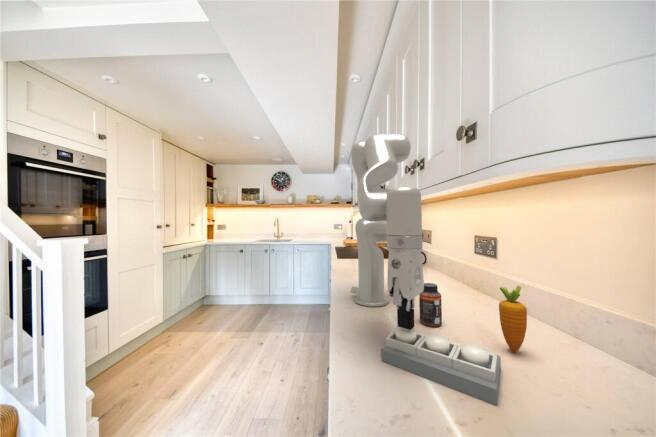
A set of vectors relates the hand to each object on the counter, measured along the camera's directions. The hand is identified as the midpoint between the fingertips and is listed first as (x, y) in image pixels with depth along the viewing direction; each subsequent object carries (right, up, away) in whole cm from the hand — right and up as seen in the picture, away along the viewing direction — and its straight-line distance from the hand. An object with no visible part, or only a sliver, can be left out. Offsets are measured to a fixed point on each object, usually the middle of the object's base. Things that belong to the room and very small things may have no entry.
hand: (405, 326), depth 52 cm
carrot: (+24, -6, +1) cm, 25 cm away
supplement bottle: (+13, -7, +17) cm, 22 cm away
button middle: (+5, -3, -4) cm, 7 cm away
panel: (+6, -6, -3) cm, 9 cm away
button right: (+10, -2, -8) cm, 13 cm away
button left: (0, -3, 0) cm, 3 cm away
